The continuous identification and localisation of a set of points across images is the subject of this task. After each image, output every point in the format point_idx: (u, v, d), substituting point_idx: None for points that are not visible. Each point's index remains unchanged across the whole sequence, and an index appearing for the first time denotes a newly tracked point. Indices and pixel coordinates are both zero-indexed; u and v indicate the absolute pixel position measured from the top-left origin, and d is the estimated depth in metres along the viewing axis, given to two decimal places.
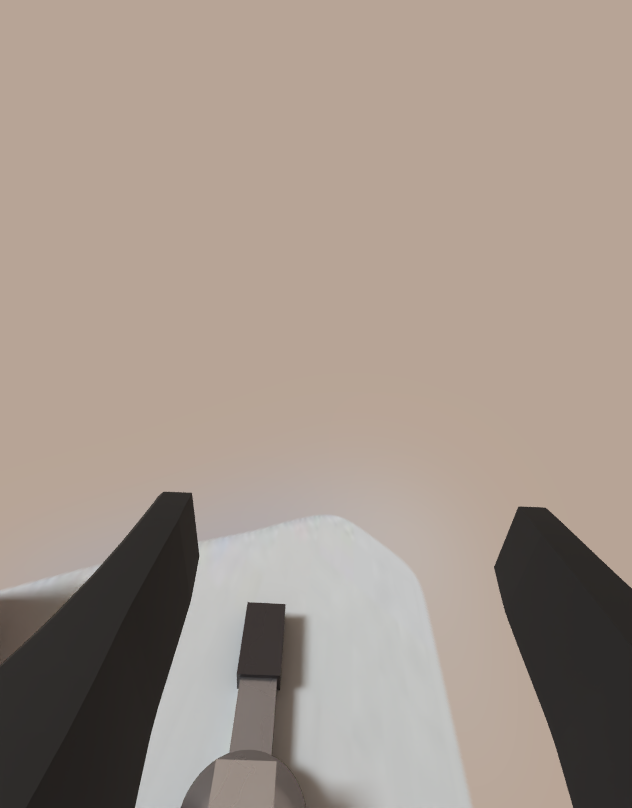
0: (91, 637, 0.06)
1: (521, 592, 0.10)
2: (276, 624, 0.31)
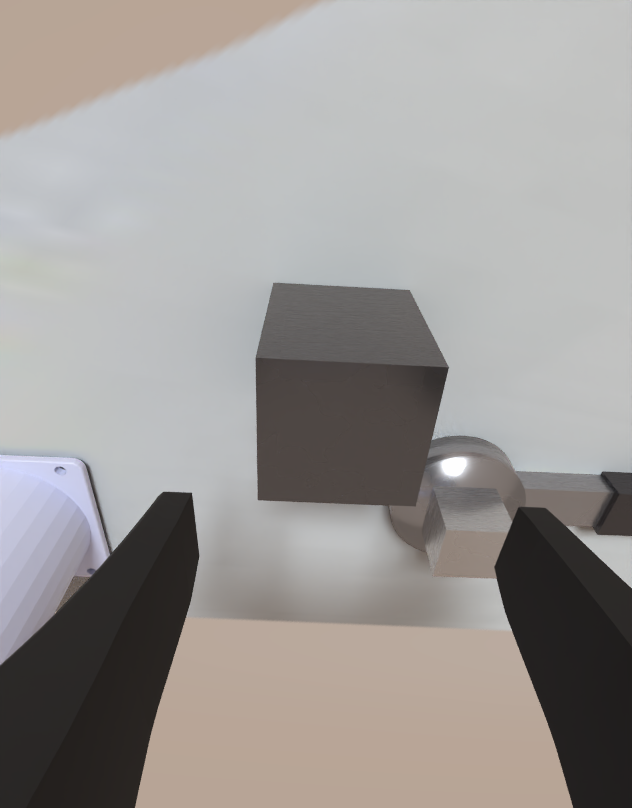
0: (91, 637, 0.06)
1: (521, 592, 0.10)
2: None
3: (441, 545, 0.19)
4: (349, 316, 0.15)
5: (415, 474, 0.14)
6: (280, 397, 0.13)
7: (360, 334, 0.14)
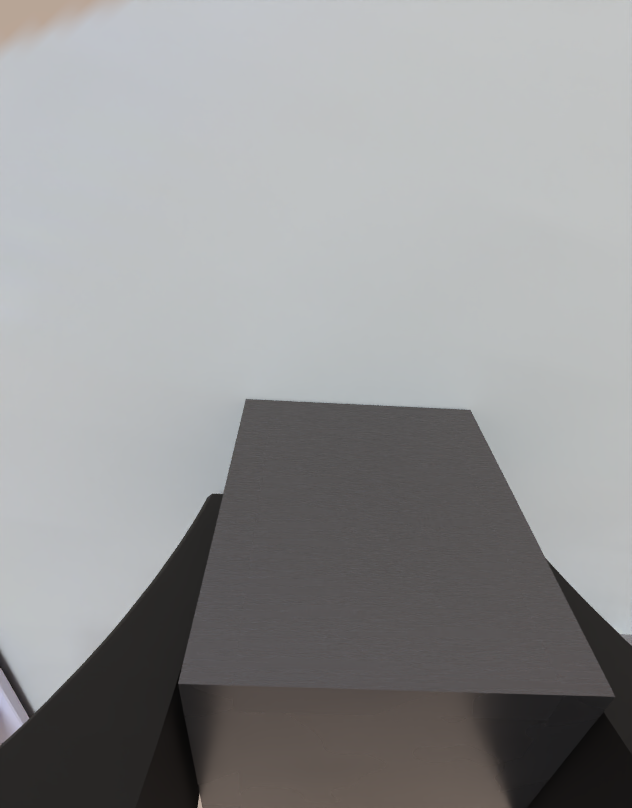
0: (166, 641, 0.06)
1: None
2: None
3: None
4: (378, 495, 0.08)
5: None
6: (239, 733, 0.06)
7: (404, 561, 0.07)
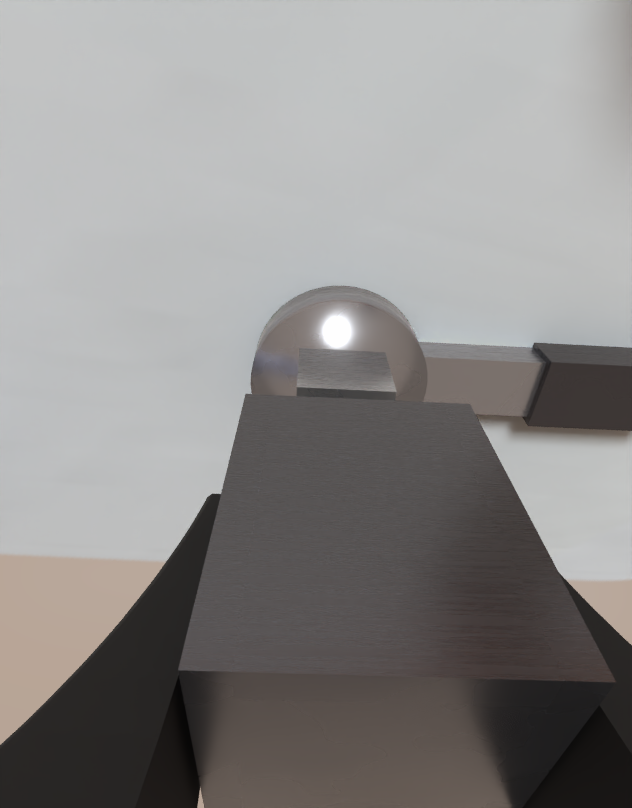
0: (166, 641, 0.06)
1: None
2: (625, 418, 0.17)
3: None
4: (378, 487, 0.08)
5: (508, 805, 0.07)
6: (239, 722, 0.06)
7: (404, 550, 0.07)
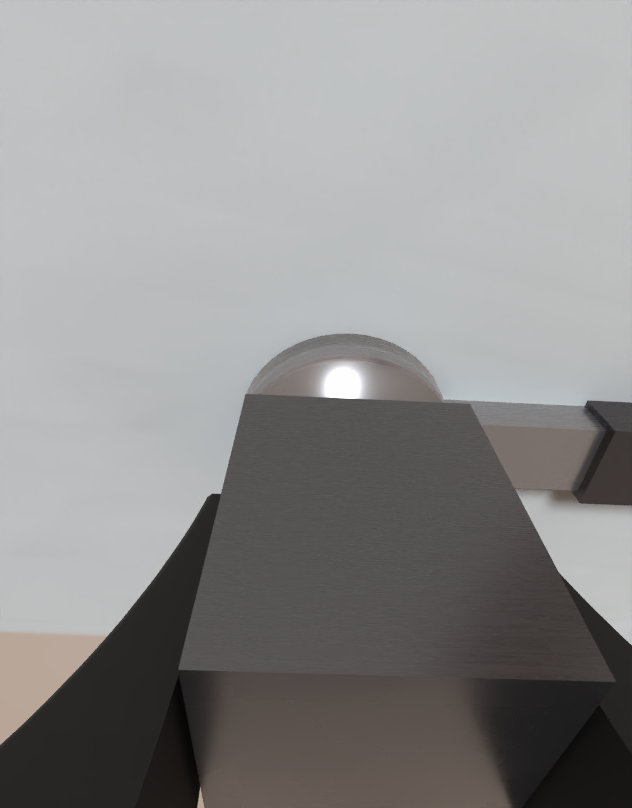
0: (165, 640, 0.06)
1: None
2: None
3: None
4: (377, 487, 0.08)
5: (508, 804, 0.07)
6: (239, 721, 0.06)
7: (404, 550, 0.07)
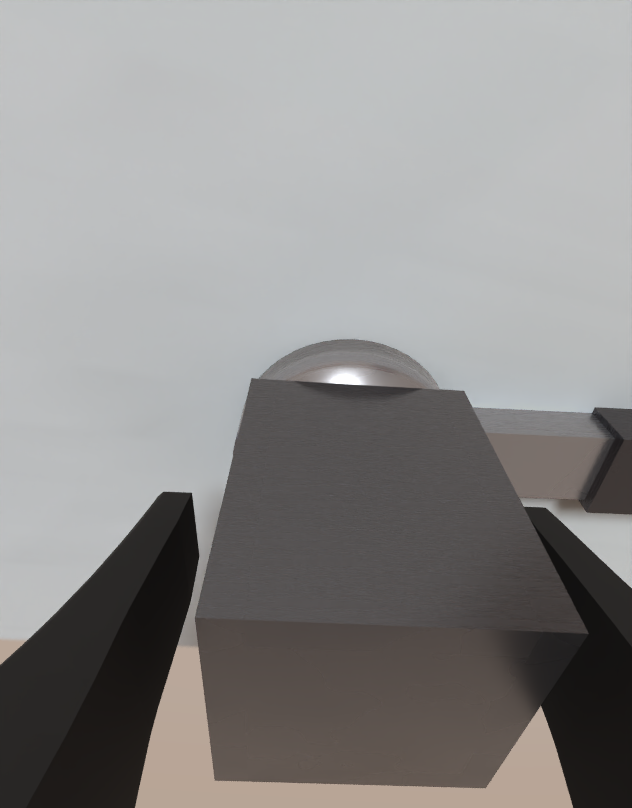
0: (91, 637, 0.06)
1: None
2: None
3: None
4: (376, 464, 0.09)
5: (492, 756, 0.08)
6: (248, 669, 0.06)
7: (400, 520, 0.07)
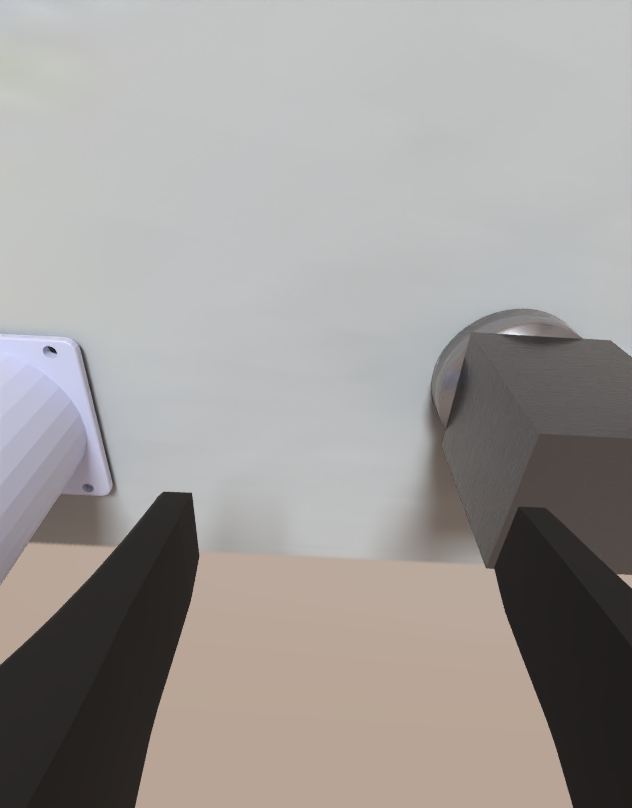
0: (91, 638, 0.06)
1: (521, 593, 0.10)
2: None
3: None
4: (583, 376, 0.14)
5: None
6: (550, 471, 0.12)
7: (614, 400, 0.13)
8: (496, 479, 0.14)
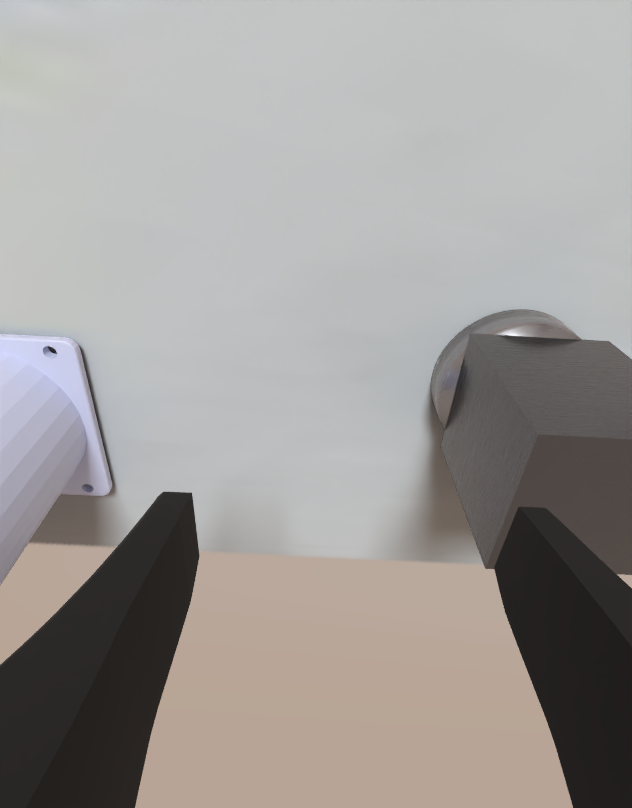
0: (90, 638, 0.06)
1: (521, 593, 0.10)
2: None
3: None
4: (581, 377, 0.14)
5: None
6: (548, 472, 0.12)
7: (613, 401, 0.13)
8: (495, 480, 0.14)
